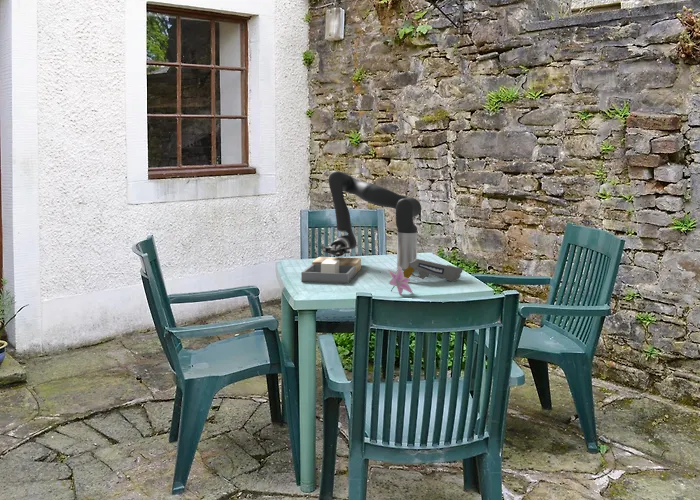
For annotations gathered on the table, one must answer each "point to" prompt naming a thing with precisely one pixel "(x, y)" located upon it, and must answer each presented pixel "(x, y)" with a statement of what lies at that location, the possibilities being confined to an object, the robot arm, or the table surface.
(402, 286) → the lily
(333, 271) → the cream block
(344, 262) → the tan flat block
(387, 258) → the table surface
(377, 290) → the table surface
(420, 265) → the gun
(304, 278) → the box
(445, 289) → the table surface
